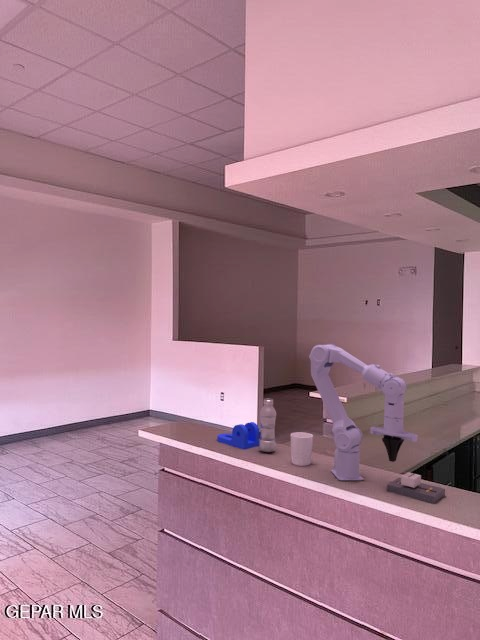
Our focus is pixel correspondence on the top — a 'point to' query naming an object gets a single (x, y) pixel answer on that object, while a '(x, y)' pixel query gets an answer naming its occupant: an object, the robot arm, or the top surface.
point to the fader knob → (411, 479)
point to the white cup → (301, 448)
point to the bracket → (241, 436)
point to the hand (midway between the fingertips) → (392, 460)
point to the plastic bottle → (267, 427)
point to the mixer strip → (417, 491)
